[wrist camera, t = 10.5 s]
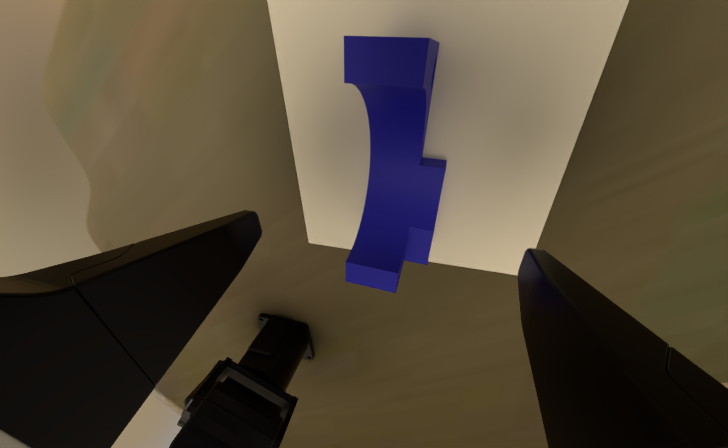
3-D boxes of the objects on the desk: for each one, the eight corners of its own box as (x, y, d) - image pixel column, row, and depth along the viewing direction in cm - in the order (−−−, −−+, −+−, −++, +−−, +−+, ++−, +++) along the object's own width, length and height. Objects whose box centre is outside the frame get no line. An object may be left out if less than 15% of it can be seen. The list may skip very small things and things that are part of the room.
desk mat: (523, 271, 20) (524, 276, 19) (311, 239, 24) (308, 243, 24) (641, -51, 11) (650, -55, 10) (271, -10, 15) (265, -12, 15)
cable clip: (430, 239, 20) (422, 299, 15) (371, 228, 21) (345, 281, 16) (470, 43, 13) (477, 38, 9) (382, 40, 14) (343, 35, 10)
